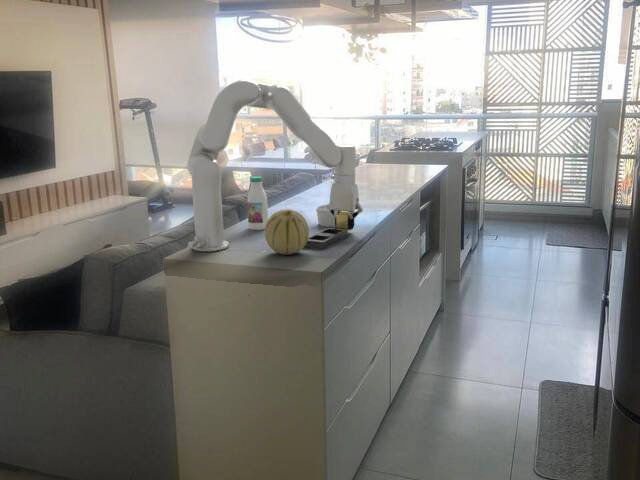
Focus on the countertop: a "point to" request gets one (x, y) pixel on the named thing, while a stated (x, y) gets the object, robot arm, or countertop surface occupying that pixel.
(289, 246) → the cantaloupe
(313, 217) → the countertop surface
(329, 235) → the grey board with holes
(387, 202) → the countertop surface
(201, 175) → the robot arm
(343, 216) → the yellow rectangular block
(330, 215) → the ramekin
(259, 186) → the milk bottle
